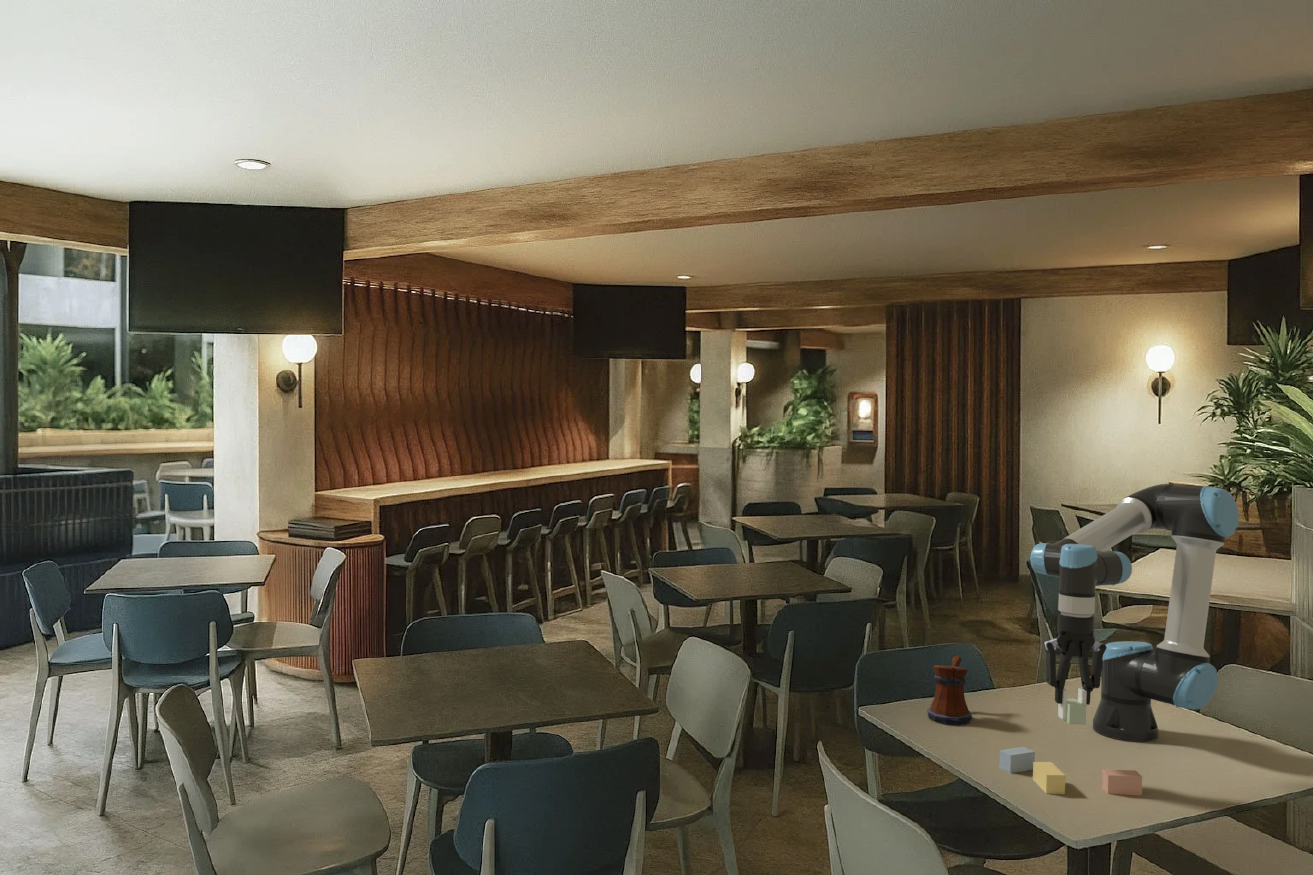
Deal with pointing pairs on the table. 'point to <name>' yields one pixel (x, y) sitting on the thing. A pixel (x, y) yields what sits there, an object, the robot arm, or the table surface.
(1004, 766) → the slate brick
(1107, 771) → the terracotta brick
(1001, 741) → the table surface
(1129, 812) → the table surface
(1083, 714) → the sage brick
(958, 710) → the mug
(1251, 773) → the table surface
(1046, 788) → the ochre brick
